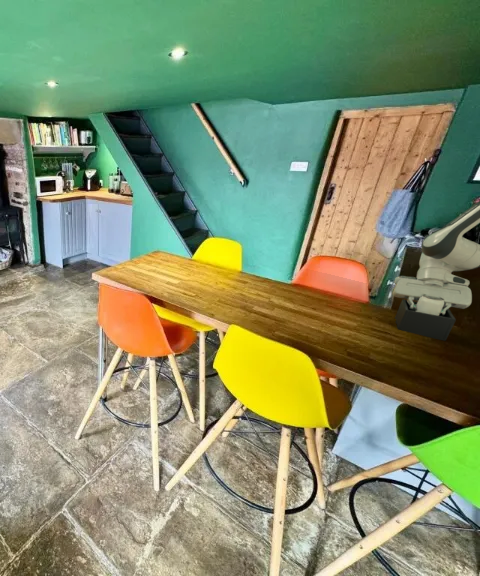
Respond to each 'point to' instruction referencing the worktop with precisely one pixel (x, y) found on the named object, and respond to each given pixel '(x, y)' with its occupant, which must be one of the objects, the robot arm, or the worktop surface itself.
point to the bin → (424, 322)
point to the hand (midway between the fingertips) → (426, 311)
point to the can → (430, 305)
